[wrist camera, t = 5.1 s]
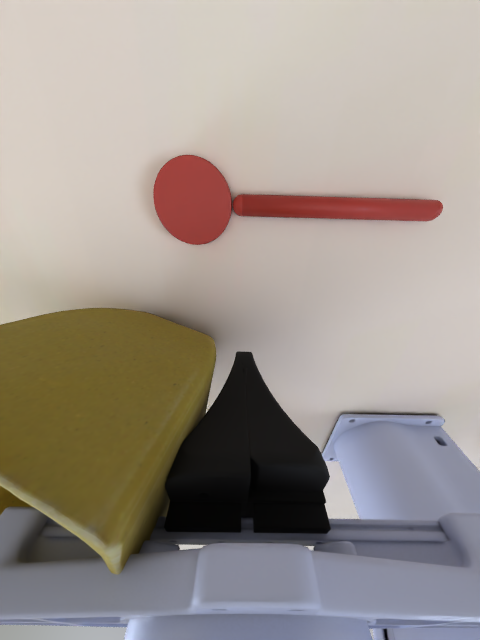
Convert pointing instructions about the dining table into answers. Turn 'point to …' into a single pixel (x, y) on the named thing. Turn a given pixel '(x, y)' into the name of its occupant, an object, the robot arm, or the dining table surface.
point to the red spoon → (257, 203)
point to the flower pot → (98, 419)
